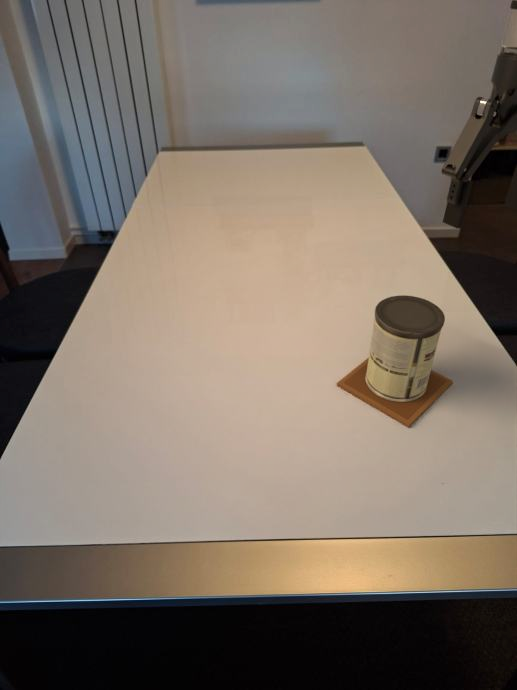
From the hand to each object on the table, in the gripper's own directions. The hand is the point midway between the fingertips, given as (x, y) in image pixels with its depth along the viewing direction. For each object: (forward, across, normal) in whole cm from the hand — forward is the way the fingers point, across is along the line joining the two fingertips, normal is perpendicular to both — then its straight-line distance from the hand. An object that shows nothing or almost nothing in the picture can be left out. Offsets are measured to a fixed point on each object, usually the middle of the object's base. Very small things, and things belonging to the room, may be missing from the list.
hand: (483, 216), depth 74 cm
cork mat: (+27, +12, 0) cm, 30 cm away
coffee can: (+27, +12, 0) cm, 29 cm away
